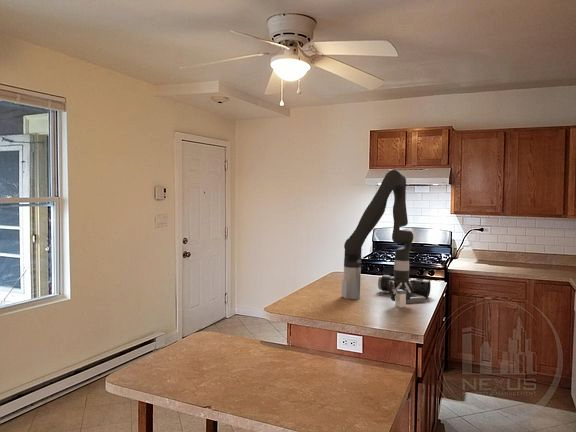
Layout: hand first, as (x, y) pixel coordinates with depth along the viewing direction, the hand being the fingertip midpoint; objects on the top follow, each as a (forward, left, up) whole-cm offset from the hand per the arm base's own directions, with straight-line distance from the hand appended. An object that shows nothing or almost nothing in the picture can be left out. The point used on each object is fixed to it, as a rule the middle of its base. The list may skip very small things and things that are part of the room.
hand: (400, 300), depth 222 cm
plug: (0, 0, -3) cm, 3 cm away
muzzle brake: (+16, +22, -3) cm, 27 cm away
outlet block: (+12, +9, -3) cm, 15 cm away
